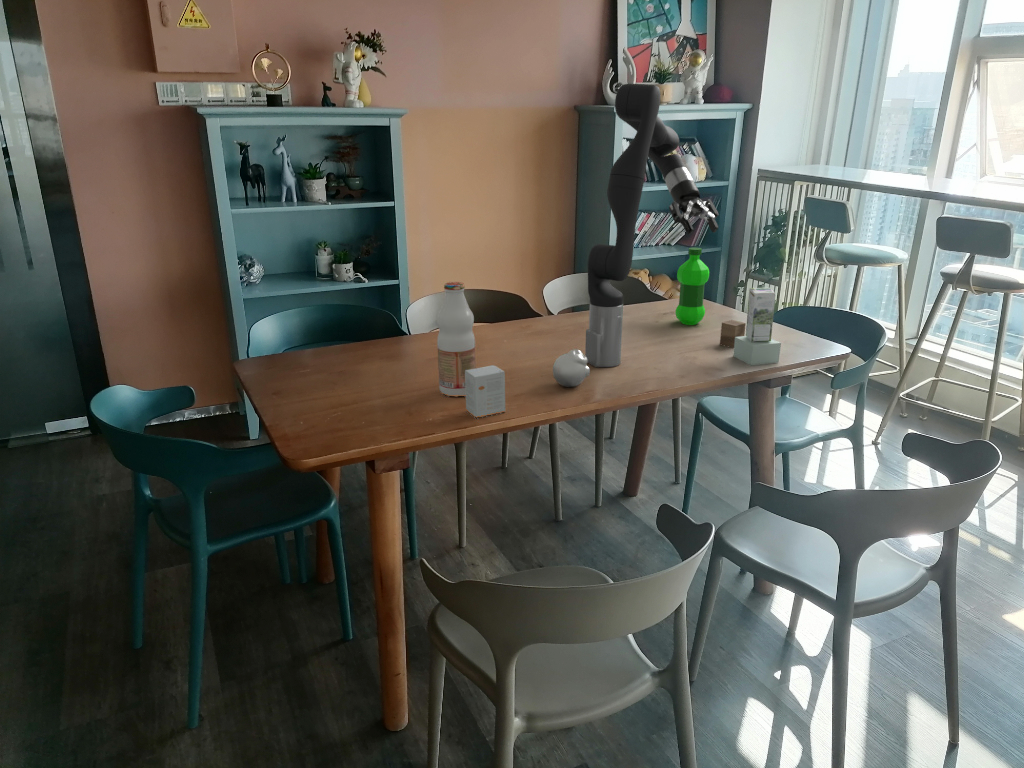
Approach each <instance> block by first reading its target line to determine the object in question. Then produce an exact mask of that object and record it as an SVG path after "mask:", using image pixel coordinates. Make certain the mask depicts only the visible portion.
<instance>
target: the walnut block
mask: <svg viewBox="0 0 1024 768" xmlns="http://www.w3.org/2000/svg"><path fill="white" fill-rule="evenodd" d="M746 326H747V322H743V321H738V320H733V319H729V320H726V321H723V322H721V327H720V328H721V329H720V336H719V337H720V339H719V345H720V344H722V345H721V346H723V345H725V346H724V347H727V346H729V347H728V348H731V349H734V343H735V337H740V336H746Z"/></svg>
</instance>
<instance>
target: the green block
mask: <svg viewBox="0 0 1024 768" xmlns="http://www.w3.org/2000/svg"><path fill="white" fill-rule="evenodd" d="M781 345H782V342H781V341H778V340H776V339H774V338H771V341H767V342H751V341H750V340H749V339H748V338H747V337H746V335H744V336H740V337H735V343H734V348H733V353H732V354H733V355H732V356H733V357H734V358H736V359H738V360H740V361H741V362H743V363H746V364H747V365H749V366H759V365H767V364H775V363H776V364H777V363H780V353H781Z"/></svg>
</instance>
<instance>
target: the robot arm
mask: <svg viewBox="0 0 1024 768" xmlns="http://www.w3.org/2000/svg"><path fill="white" fill-rule="evenodd" d="M660 105H661V90H660V87H659V86H658V85H656V84H647V83H625V84H622V85H621V86H619V88H618V90H617V92H616V96H615V99H614V109H615V112H616V115H617V117H618V118H619V119H620V120H622V121H623V122H624V123H626V124H627V125H629V126H630V127H631V128H632V129H634V130H635V131H636V133H635V135H634V137H633V139H632V141H631V142H630V144H629V145H628V146H627V148H625V150H624V151H623V152H622V153H621V154H620V156H619V157H618V158H617V160H616V161H615V162H614V163H613V165H612V166H611V168H610V173H609V178H608V183H607V190H606V196H607V197H606V198H607V201H608V204H609V207H610V210H611V213H612V215H613V218H614V220H615V226H616V239H615V244H614V245H612V244H604V243H603V244H602V243H599V244H597V243H596V244H595V245H593V247H592V248H591V250H590V251H589V254H588V258H587V293H588V297H589V314H588V315H589V316H588V317H589V318H588V321H589V322H588V328H587V329H586V330H585V351H584V353H585V354H584V355H585V356H586V358H587V364H589V365H591V366H593V367H595V368H611V367H617V366H618V365H621V361H622V360H621V359H622V358H621V357H622V342H623V341H622V337H623V336H622V335H623V315H624V295H623V293H622V291H620V290H619V289H617V288H616V287H614V286H613V284H611V282H610V281H614V282H615V281H616V282H622V281H623V282H624V281H625V280H626V279H627V277H629V274H630V273H631V268H632V263H633V256H634V255H633V253H634V247H635V246H634V245H635V235H636V226H637V220H638V213H639V208H640V204H641V203H640V202H641V198H642V193H643V190H644V189H643V188H644V183H645V178H646V177H645V176H646V171H647V164H648V159H649V160H650V161H652V162H653V164H655V166H656V167H657V169H659V171H660V173H661V174H662V177H663V179H664V181H665V185H666V187H667V190H668V192H669V195H670V196H671V198H672V202H671V204H670V205H669V207H668V209H669V212H670V214H671V217H672V219H673V222H674V223H675V224H678V223H679V224H680V225H682V226H683V228H684V231H685V232H686V233H687V235H692V233H693V232H694V231H695V230H694V229H695V228H694V227H693V224H692V222H691V221H690V219H689V218H693V217H695V218H696V217H698V218H699V219H701V220H705V222H707V225H708V227H709V229H710V231H711V233H716V232H717V231H718V229H719V224H718V223H717V221H716V218H717V217H719V215H720V214H719V212H718V210H717V208H716V206H715V205H714V203H713V201H712V199H710V198H709V199H707V200H706V201H703V200H702V199H701V197H700V195H701V194H700V190H699V188H698V186H697V184H696V182H695V180H694V178H693V177H692V174H691V173H690V171H689V169H688V168H687V165H686V163H685V162H684V160H683V158H682V156H680V155H679V154H677V153H673V152H674V151H675V150H676V149H678V147H679V145H680V138H679V135H678V133H677V132H676V131H675V130H674V128H672V127H671V126H668V125H666V124H664V122H663V120H662V119H661V118H660V116H658V115H659V111H660V107H661V106H660ZM671 153H672V154H671ZM681 212H682V213H681Z"/></svg>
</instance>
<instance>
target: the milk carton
mask: <svg viewBox="0 0 1024 768" xmlns="http://www.w3.org/2000/svg"><path fill="white" fill-rule="evenodd" d="M775 301H776V293H775V291H774V290H773V289H772V288H770V287H750V288H749V289H748V304H747V313H746V316H747V317H746V325H745V336H746V337H747V338H748V339H749V340H750V341H751V342H767V341H771V339H772V336H773V335H772V333H773V324H774V323H773V322H774V312H775Z"/></svg>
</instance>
